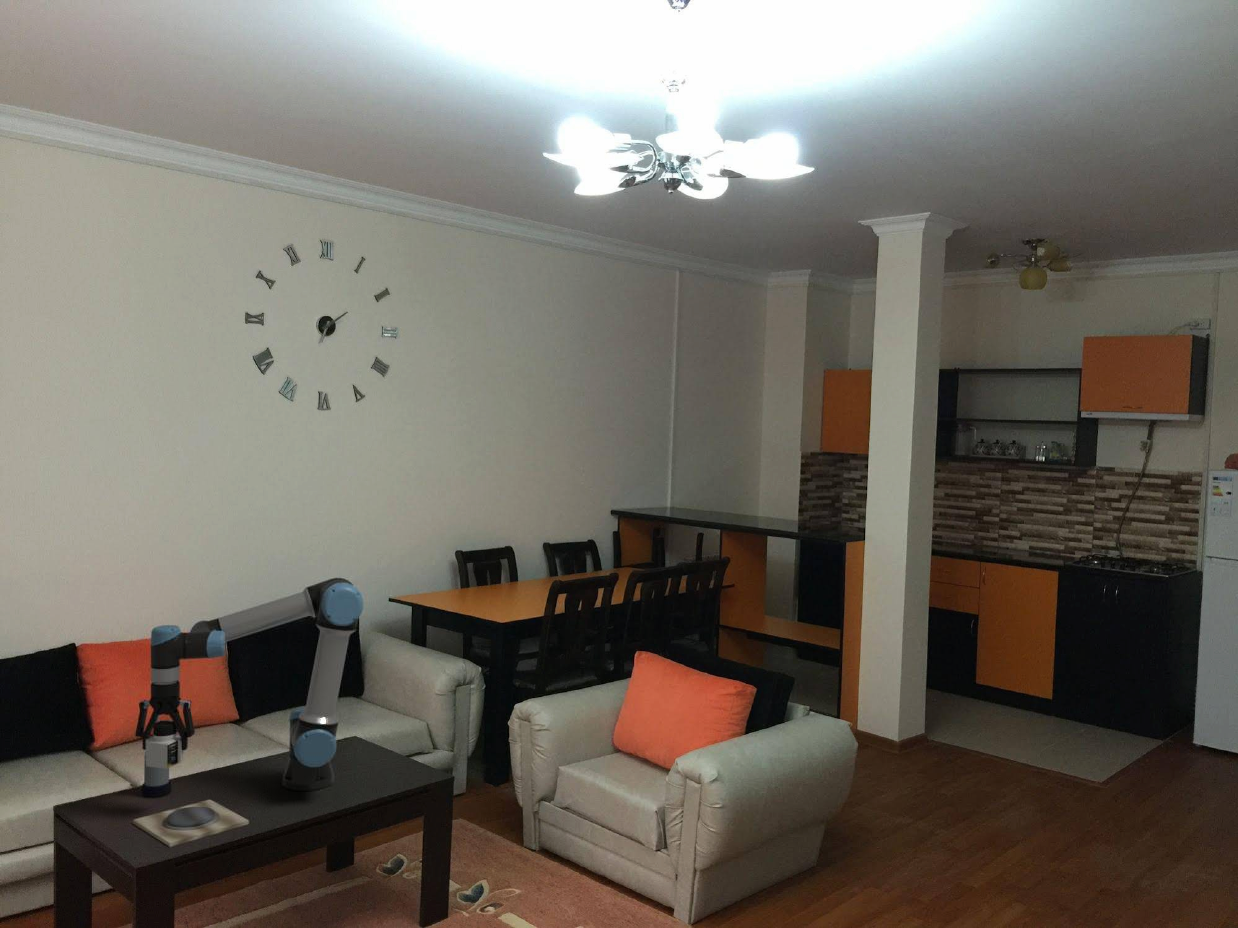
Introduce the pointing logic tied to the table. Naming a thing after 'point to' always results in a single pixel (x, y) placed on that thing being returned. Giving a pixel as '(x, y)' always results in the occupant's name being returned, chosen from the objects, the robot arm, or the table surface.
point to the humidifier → (155, 781)
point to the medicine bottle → (163, 745)
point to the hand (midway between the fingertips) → (165, 760)
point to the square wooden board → (190, 822)
